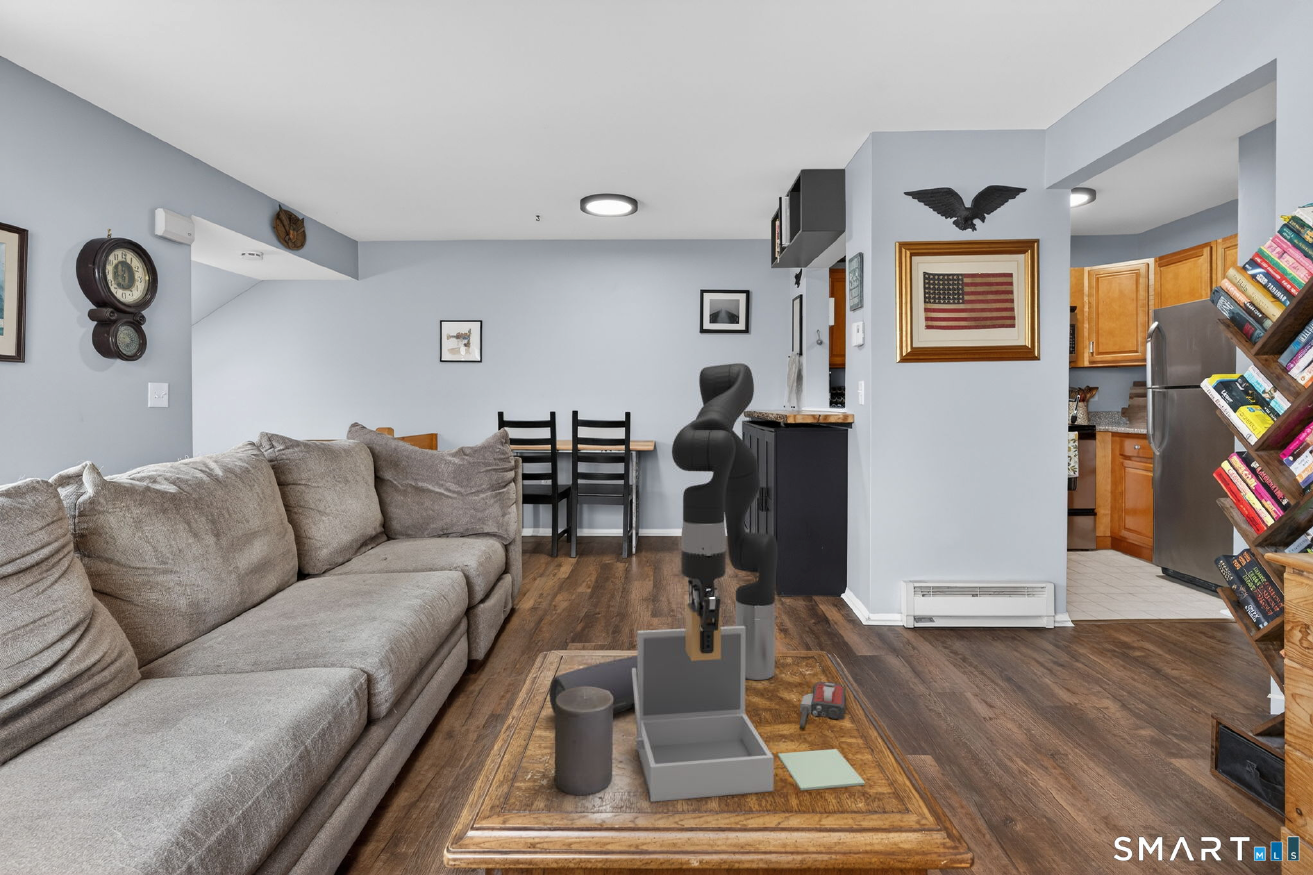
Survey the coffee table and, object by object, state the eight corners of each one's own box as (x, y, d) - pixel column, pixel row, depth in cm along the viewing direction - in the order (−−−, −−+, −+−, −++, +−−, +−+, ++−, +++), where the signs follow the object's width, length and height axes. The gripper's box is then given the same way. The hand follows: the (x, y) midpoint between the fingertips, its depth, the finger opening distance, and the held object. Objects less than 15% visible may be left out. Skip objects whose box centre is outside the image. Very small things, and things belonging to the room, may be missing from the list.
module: (685, 650, 113) (685, 602, 112) (713, 648, 113) (713, 601, 113) (691, 660, 108) (691, 611, 108) (720, 658, 109) (721, 609, 108)
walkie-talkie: (805, 691, 145) (796, 732, 126) (805, 671, 144) (796, 709, 125) (846, 696, 142) (843, 739, 123) (846, 676, 142) (843, 715, 123)
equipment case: (630, 746, 119) (630, 630, 118) (742, 738, 122) (743, 624, 122) (643, 802, 101) (643, 666, 101) (773, 790, 105) (774, 658, 104)
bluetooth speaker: (642, 690, 144) (642, 645, 144) (666, 705, 136) (666, 658, 136) (547, 716, 131) (547, 667, 131) (568, 734, 123) (568, 682, 123)
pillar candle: (542, 779, 108) (542, 690, 107) (586, 757, 115) (587, 673, 114) (580, 803, 101) (581, 709, 101) (625, 778, 108) (626, 690, 108)
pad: (778, 755, 116) (778, 753, 116) (836, 751, 117) (836, 748, 117) (801, 790, 105) (801, 787, 105) (865, 784, 107) (865, 782, 107)
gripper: (674, 540, 117) (673, 634, 117) (690, 557, 102) (690, 663, 103) (714, 539, 118) (714, 632, 118) (736, 555, 104) (735, 661, 104)
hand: (703, 646), depth 111 cm, fingers closed on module, 5 cm apart
